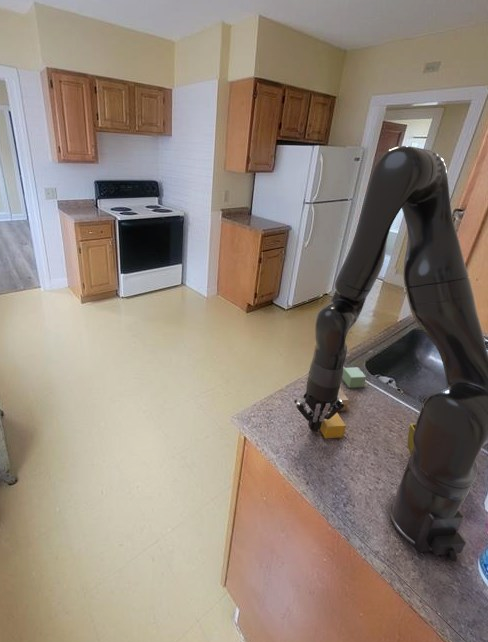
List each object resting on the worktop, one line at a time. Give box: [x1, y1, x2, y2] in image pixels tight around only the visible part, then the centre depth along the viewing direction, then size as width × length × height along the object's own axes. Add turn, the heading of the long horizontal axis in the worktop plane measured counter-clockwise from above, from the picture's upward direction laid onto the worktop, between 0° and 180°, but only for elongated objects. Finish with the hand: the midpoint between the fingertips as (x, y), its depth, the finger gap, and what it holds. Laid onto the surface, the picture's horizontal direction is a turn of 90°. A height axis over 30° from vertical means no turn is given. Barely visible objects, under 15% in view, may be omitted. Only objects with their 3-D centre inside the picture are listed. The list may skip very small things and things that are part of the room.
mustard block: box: [319, 411, 347, 439], centre depth 86 cm, size 5×5×4 cm
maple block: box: [329, 387, 349, 412], centre depth 94 cm, size 5×5×4 cm
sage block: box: [342, 367, 367, 389], centre depth 104 cm, size 5×5×4 cm
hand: (313, 429), depth 85 cm, fingers closed
